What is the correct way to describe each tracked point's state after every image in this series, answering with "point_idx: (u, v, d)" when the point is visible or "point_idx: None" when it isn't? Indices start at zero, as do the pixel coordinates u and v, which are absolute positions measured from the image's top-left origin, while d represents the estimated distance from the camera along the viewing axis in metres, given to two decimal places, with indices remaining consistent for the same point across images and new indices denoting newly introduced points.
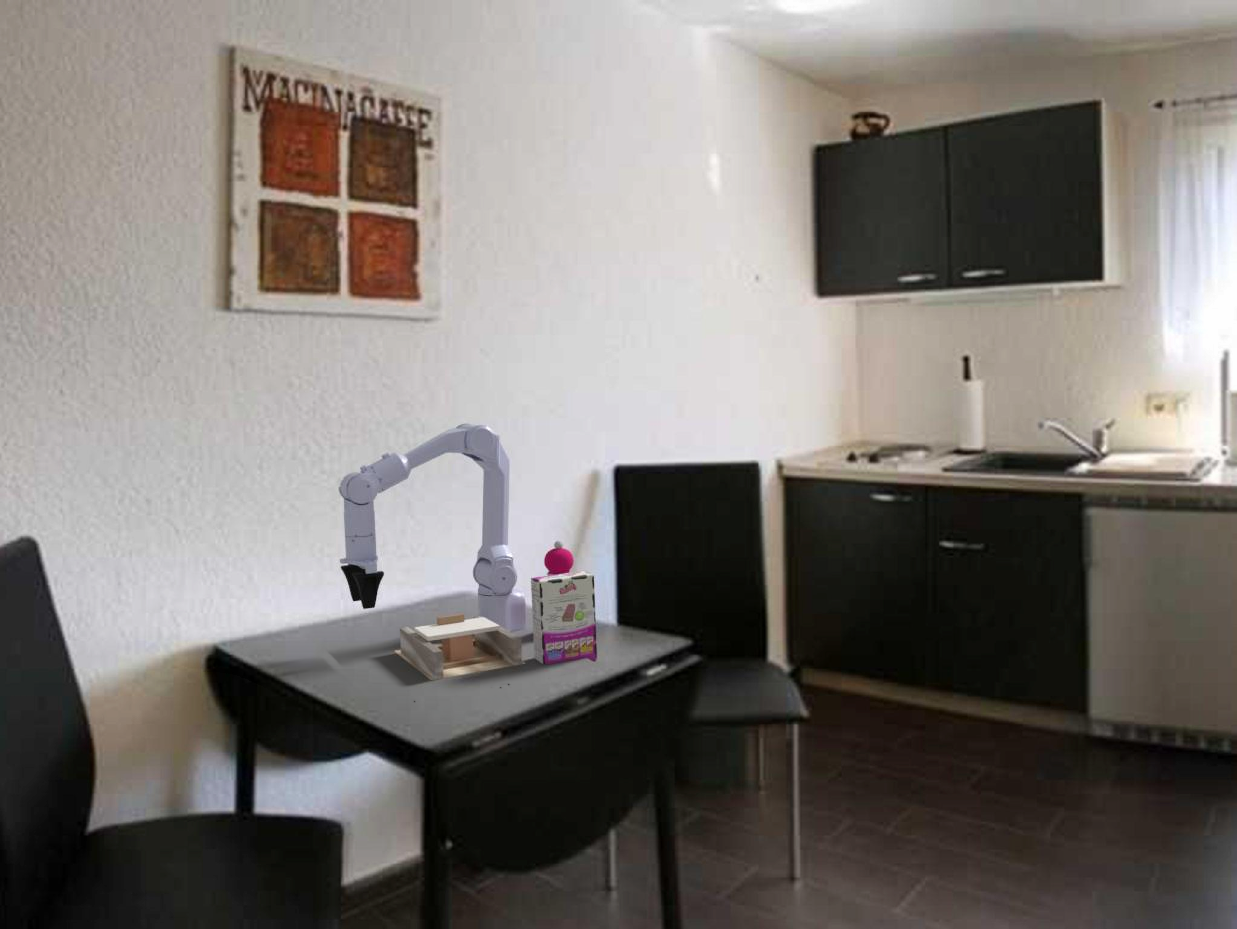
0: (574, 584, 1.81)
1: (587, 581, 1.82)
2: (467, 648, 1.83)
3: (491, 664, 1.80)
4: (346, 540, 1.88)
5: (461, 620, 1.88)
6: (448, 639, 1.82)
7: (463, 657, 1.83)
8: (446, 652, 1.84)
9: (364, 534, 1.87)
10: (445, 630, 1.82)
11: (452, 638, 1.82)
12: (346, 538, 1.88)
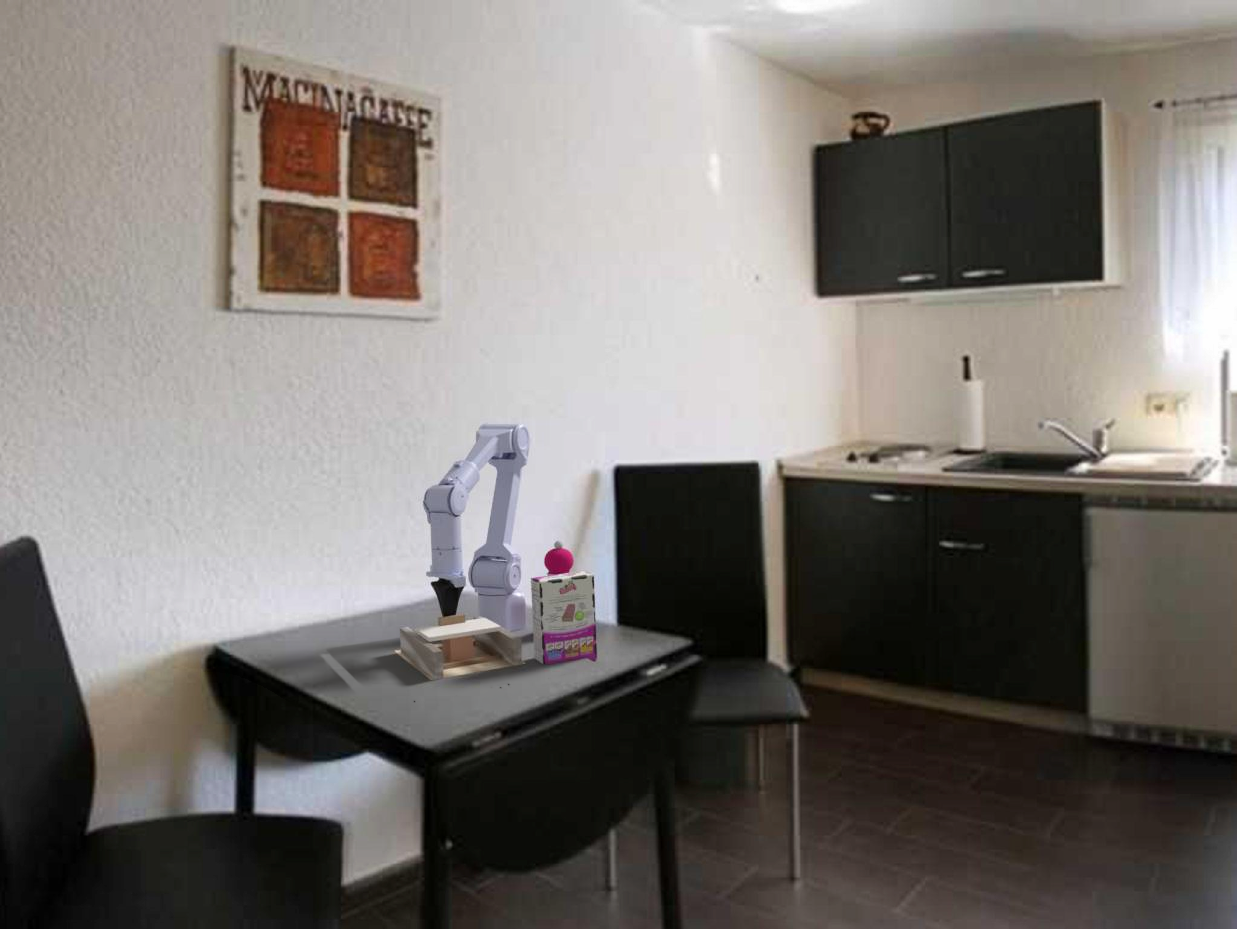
0: (574, 584, 1.81)
1: (587, 581, 1.82)
2: (467, 648, 1.83)
3: (491, 664, 1.80)
4: (433, 553, 1.85)
5: (462, 621, 1.87)
6: (448, 639, 1.82)
7: (463, 657, 1.83)
8: (446, 652, 1.84)
9: (459, 545, 1.86)
10: (446, 631, 1.81)
11: (452, 638, 1.82)
12: (433, 551, 1.85)
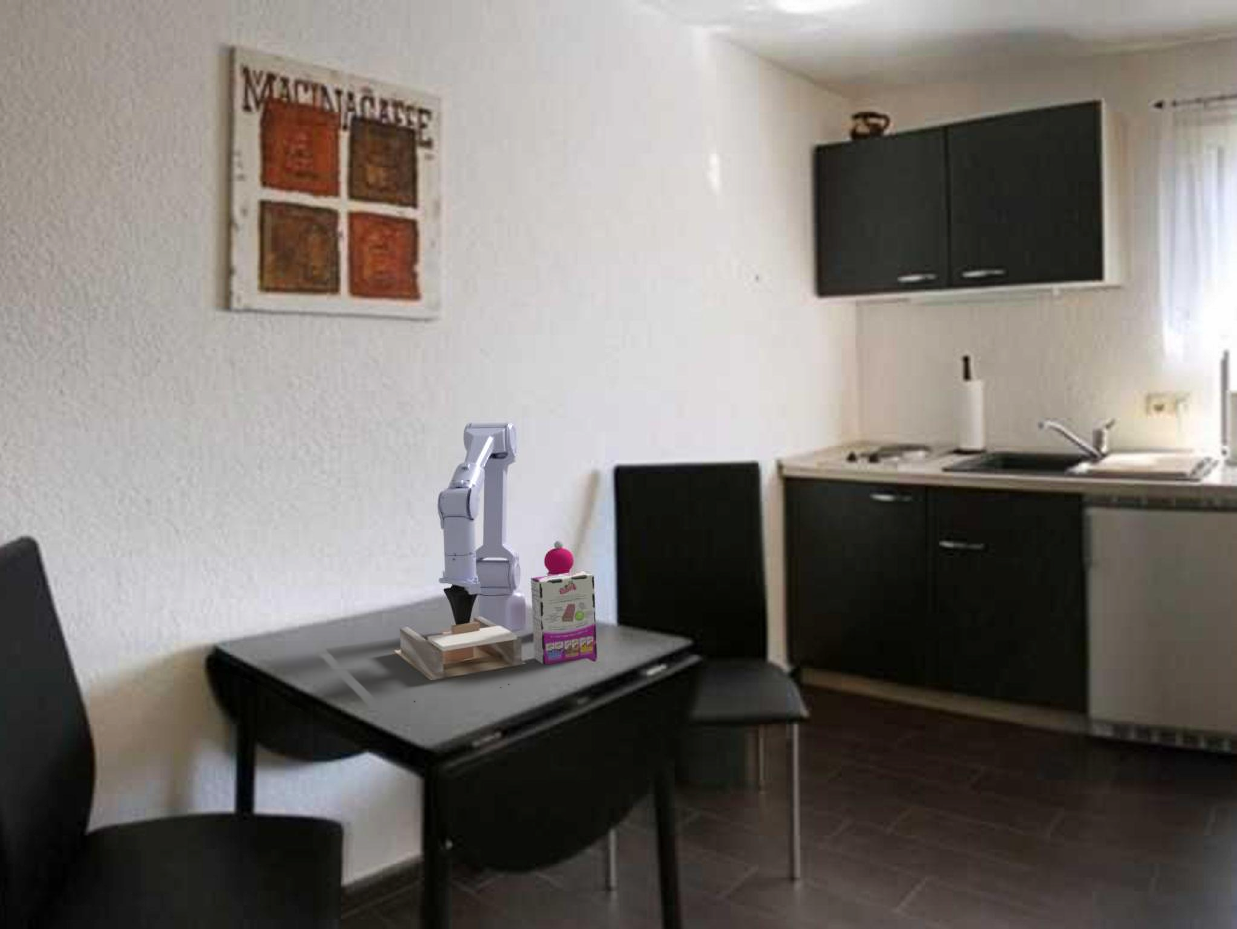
0: (574, 584, 1.81)
1: (587, 581, 1.82)
2: (467, 648, 1.83)
3: (491, 664, 1.80)
4: (446, 559, 1.79)
5: (476, 629, 1.81)
6: None
7: (463, 657, 1.83)
8: (446, 652, 1.84)
9: (475, 550, 1.80)
10: (460, 639, 1.75)
11: None
12: (446, 557, 1.79)
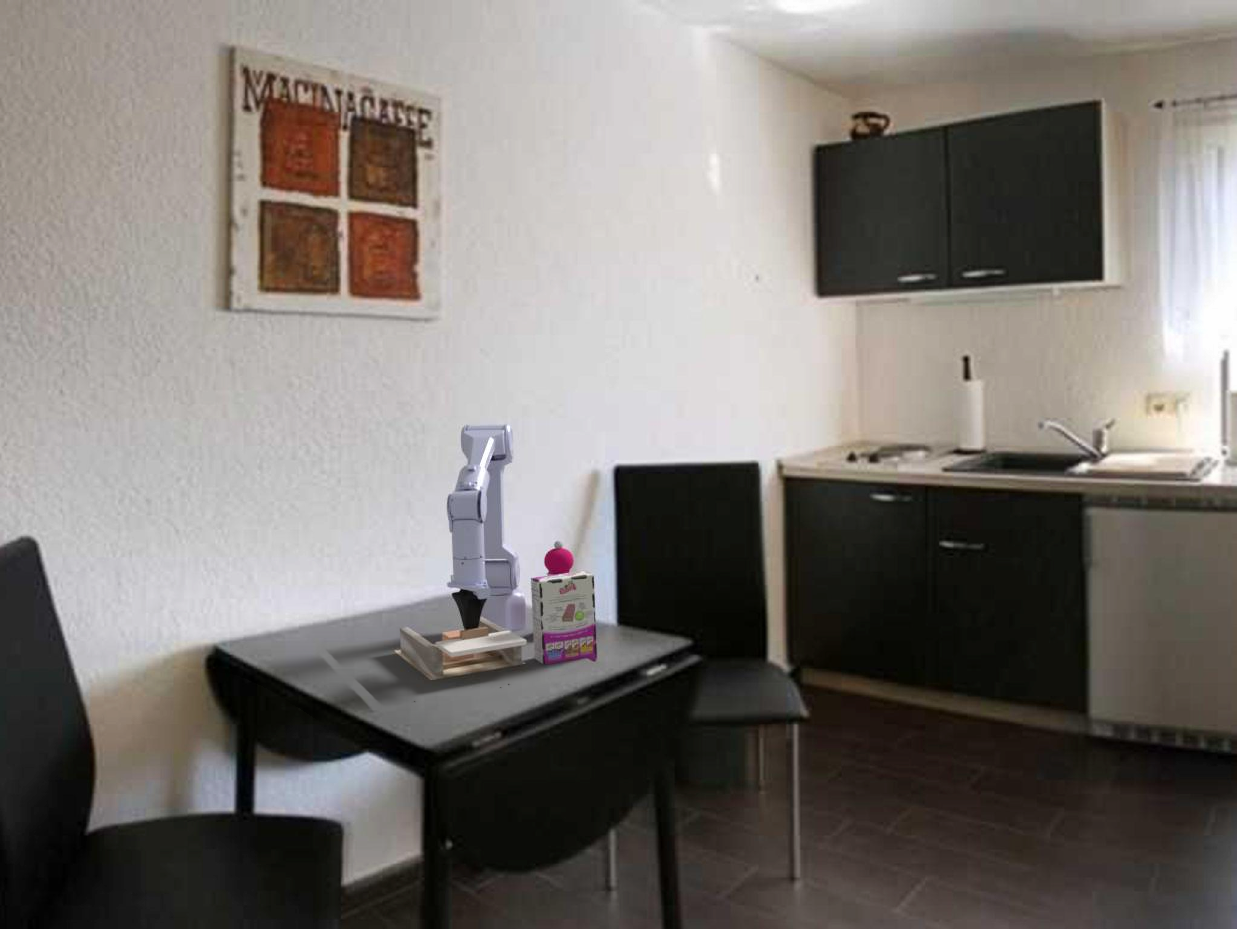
0: (574, 584, 1.81)
1: (587, 581, 1.82)
2: None
3: (491, 664, 1.80)
4: (454, 562, 1.75)
5: (485, 634, 1.77)
6: (448, 639, 1.82)
7: (463, 657, 1.83)
8: None
9: (484, 554, 1.77)
10: (469, 645, 1.71)
11: (452, 638, 1.82)
12: (454, 560, 1.75)
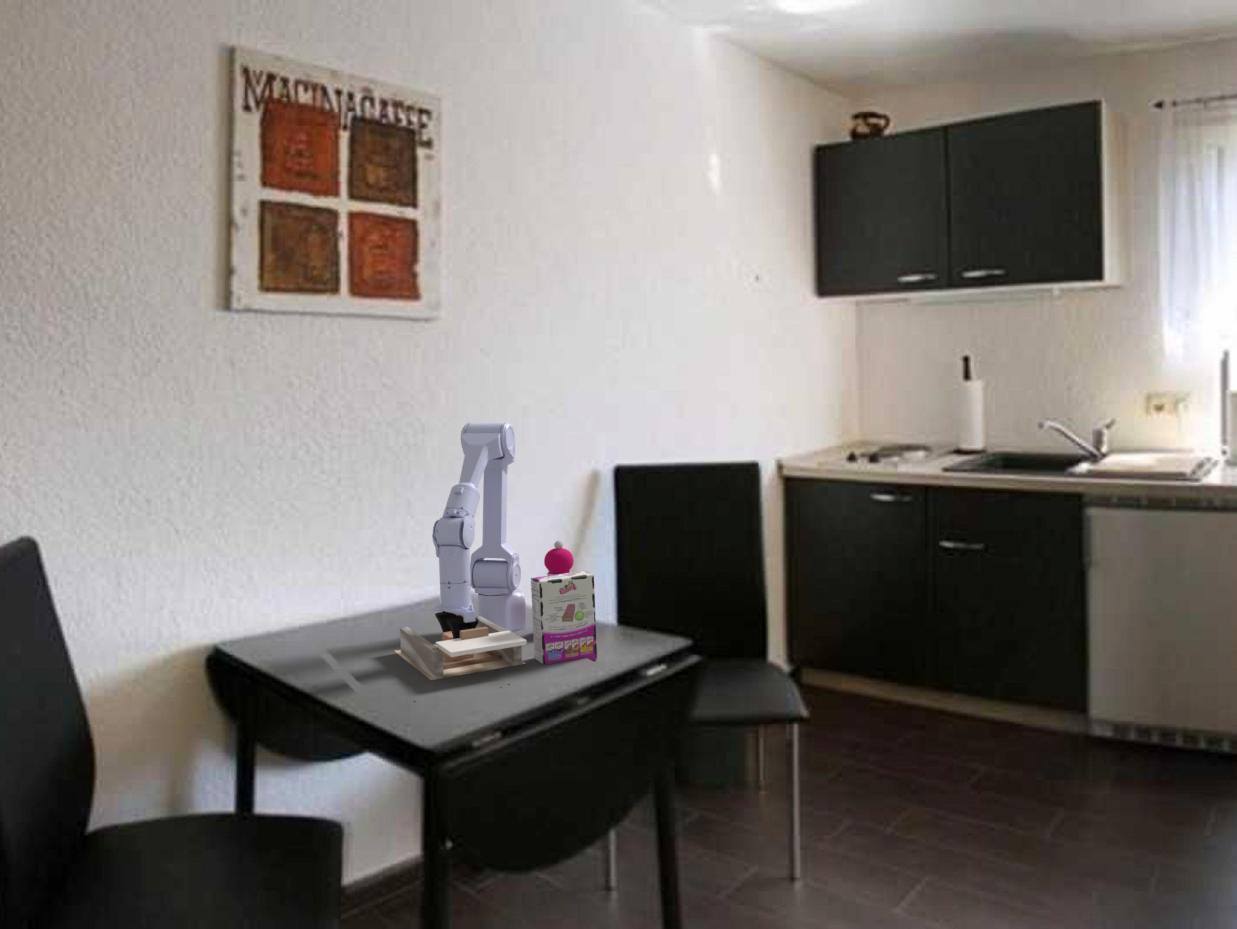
0: (574, 584, 1.81)
1: (587, 581, 1.82)
2: None
3: (491, 664, 1.80)
4: (441, 587, 1.82)
5: (485, 634, 1.77)
6: (448, 639, 1.82)
7: (463, 657, 1.83)
8: None
9: (469, 579, 1.83)
10: (469, 645, 1.71)
11: (452, 638, 1.82)
12: (442, 585, 1.82)
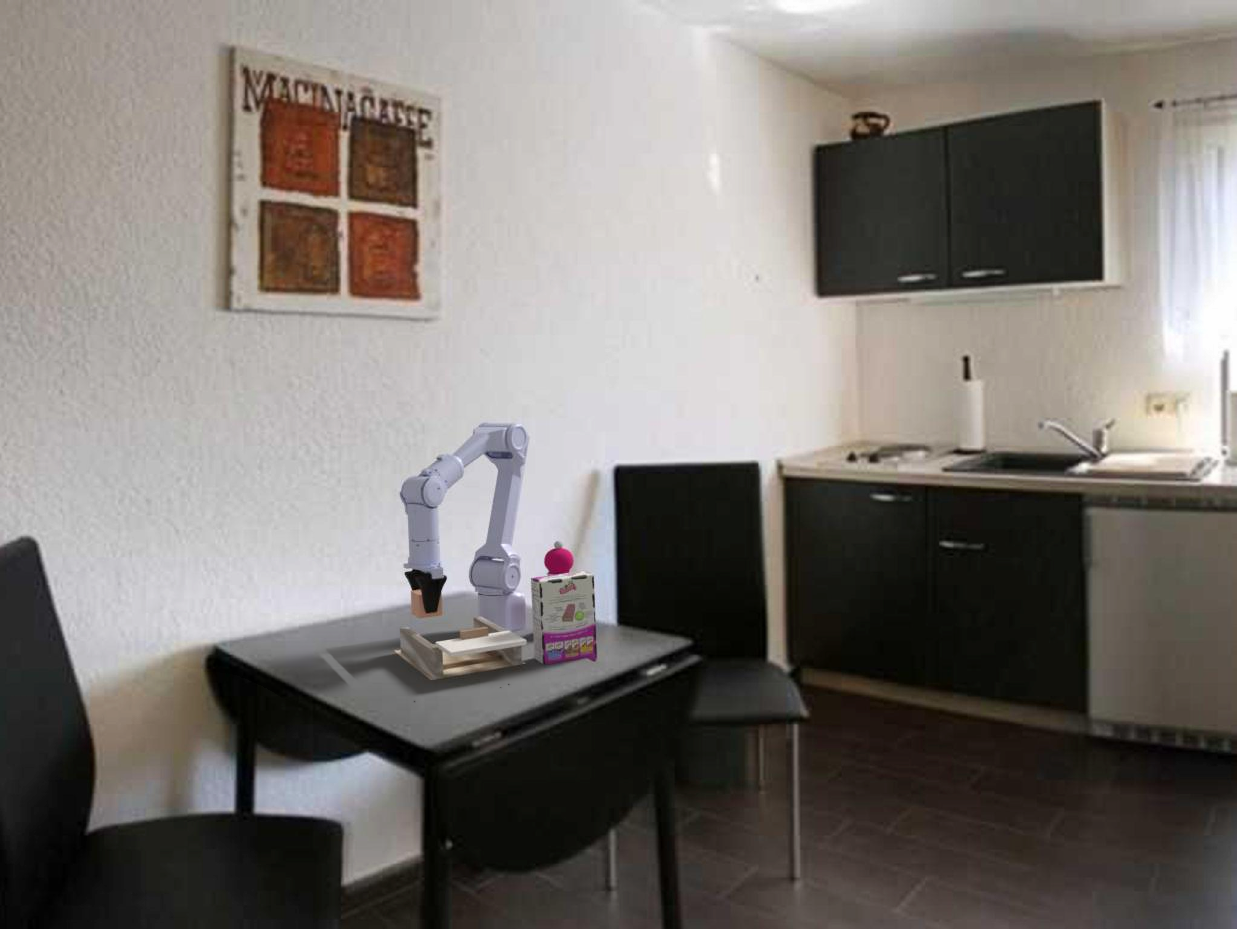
0: (574, 584, 1.81)
1: (587, 581, 1.82)
2: None
3: (491, 664, 1.80)
4: (410, 545, 1.84)
5: (485, 634, 1.77)
6: (417, 597, 1.85)
7: (432, 614, 1.85)
8: (415, 610, 1.86)
9: (435, 538, 1.85)
10: (469, 645, 1.71)
11: (421, 595, 1.84)
12: (410, 543, 1.84)
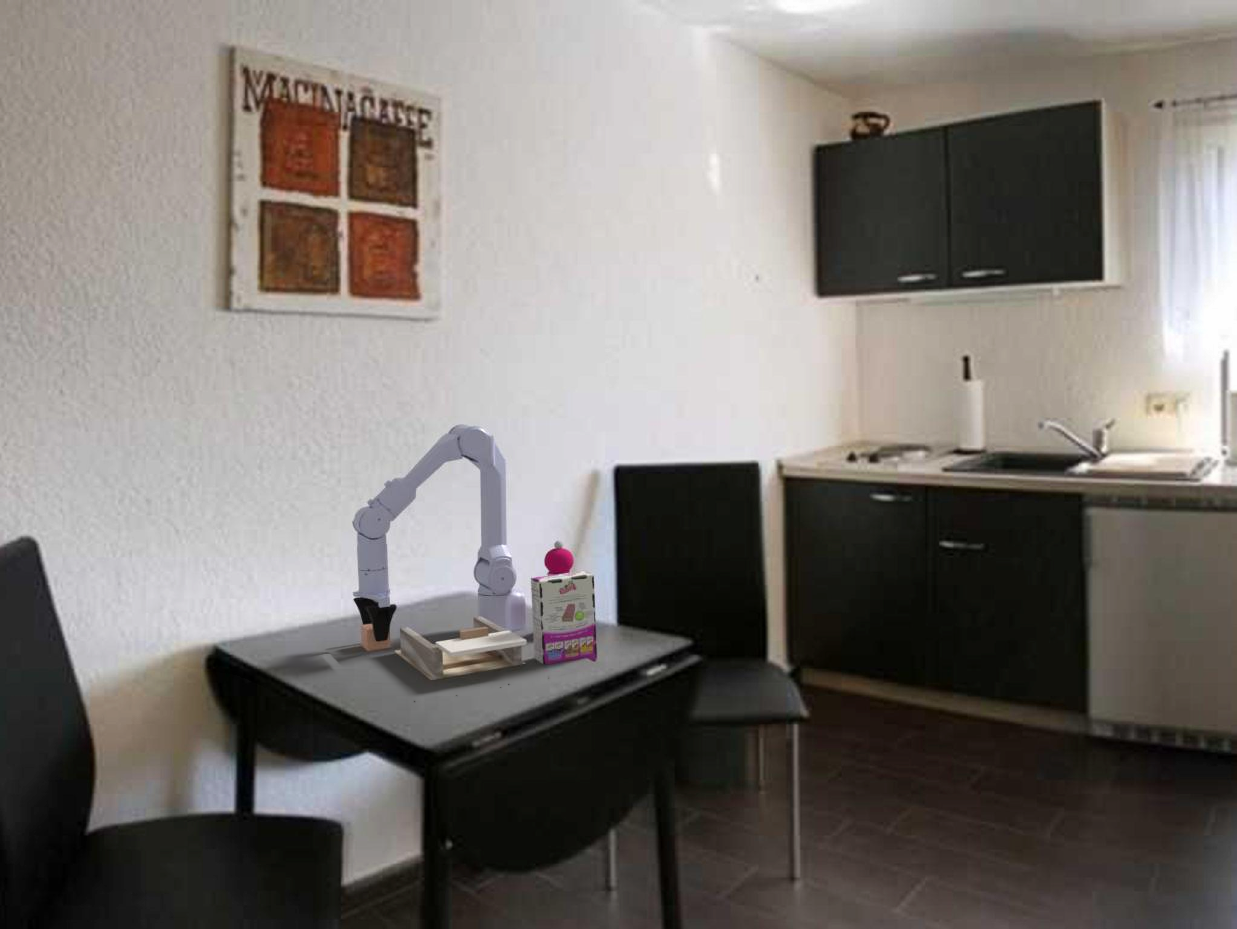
0: (574, 584, 1.81)
1: (587, 581, 1.82)
2: None
3: (491, 664, 1.80)
4: (359, 574, 1.91)
5: (485, 634, 1.77)
6: (366, 632, 1.91)
7: (380, 648, 1.92)
8: (364, 644, 1.92)
9: (376, 568, 1.90)
10: (469, 645, 1.71)
11: (369, 630, 1.90)
12: (359, 572, 1.90)
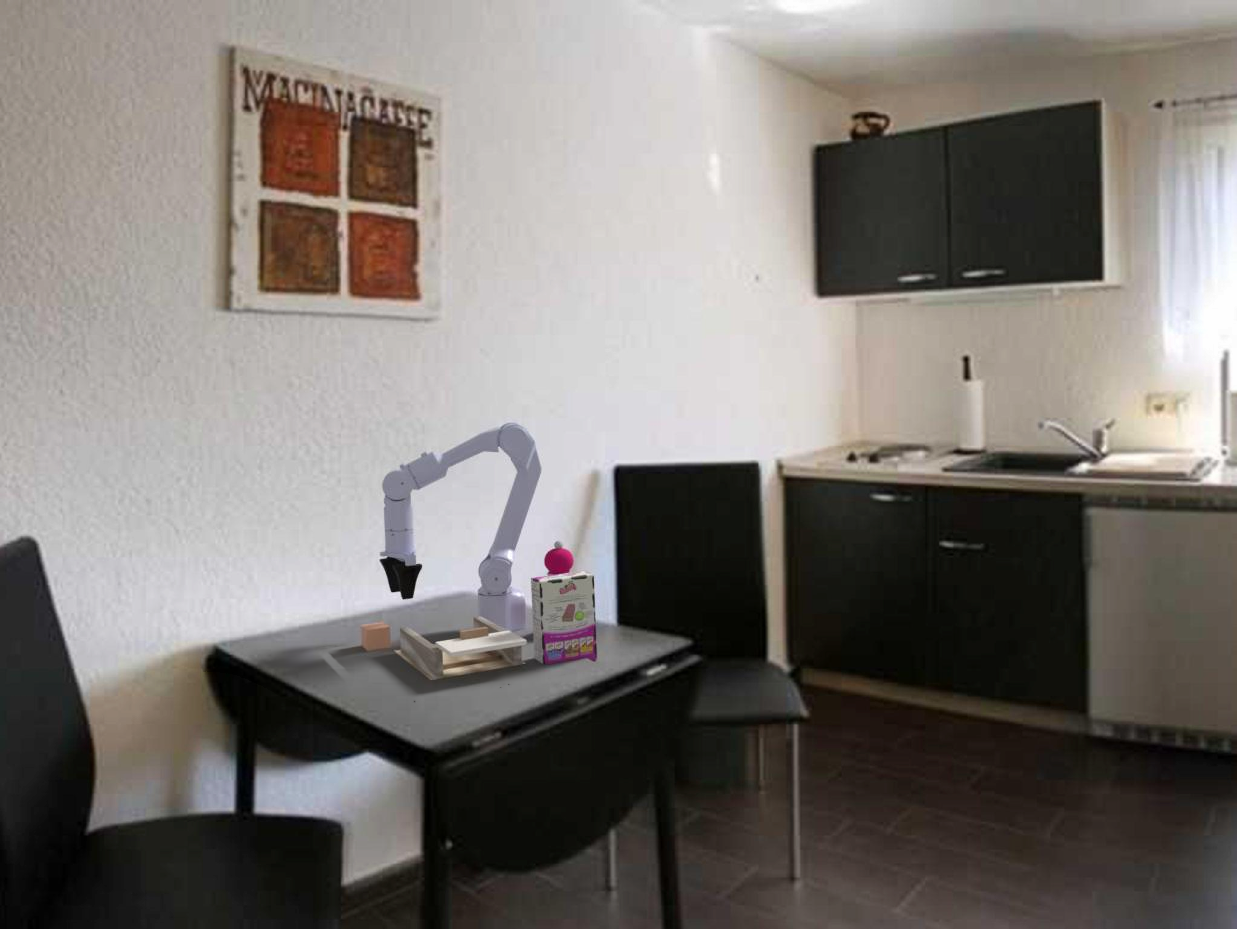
0: (574, 584, 1.81)
1: (587, 581, 1.82)
2: (384, 640, 1.92)
3: (491, 664, 1.80)
4: (386, 534, 1.98)
5: (485, 634, 1.77)
6: (366, 632, 1.91)
7: (380, 648, 1.92)
8: (364, 644, 1.92)
9: (398, 529, 1.97)
10: (469, 645, 1.71)
11: (369, 630, 1.90)
12: (386, 532, 1.98)
